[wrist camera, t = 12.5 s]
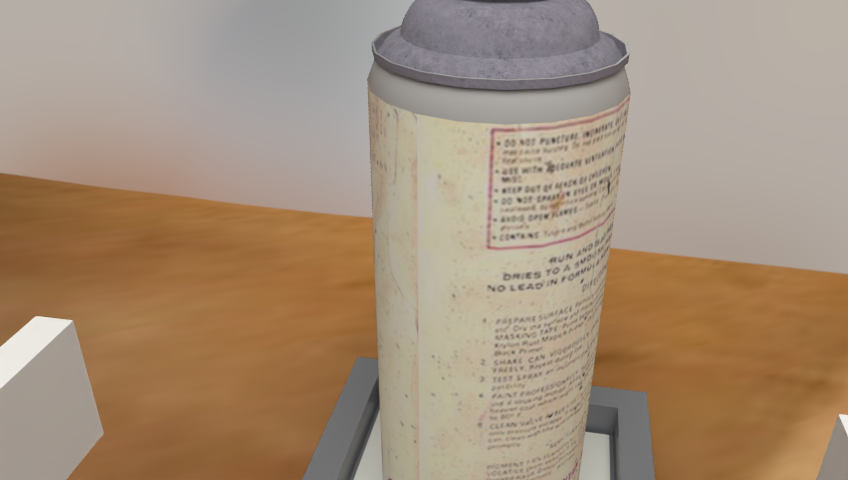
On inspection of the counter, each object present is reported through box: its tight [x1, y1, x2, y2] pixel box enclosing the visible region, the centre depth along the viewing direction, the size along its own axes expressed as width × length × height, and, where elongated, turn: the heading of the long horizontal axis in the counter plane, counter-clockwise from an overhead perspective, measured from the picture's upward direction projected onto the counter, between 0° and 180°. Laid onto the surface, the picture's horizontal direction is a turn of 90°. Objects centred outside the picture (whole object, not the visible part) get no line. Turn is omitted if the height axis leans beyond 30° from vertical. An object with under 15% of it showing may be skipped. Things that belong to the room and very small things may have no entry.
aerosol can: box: [367, 0, 630, 480], centre depth 23 cm, size 7×7×20 cm
